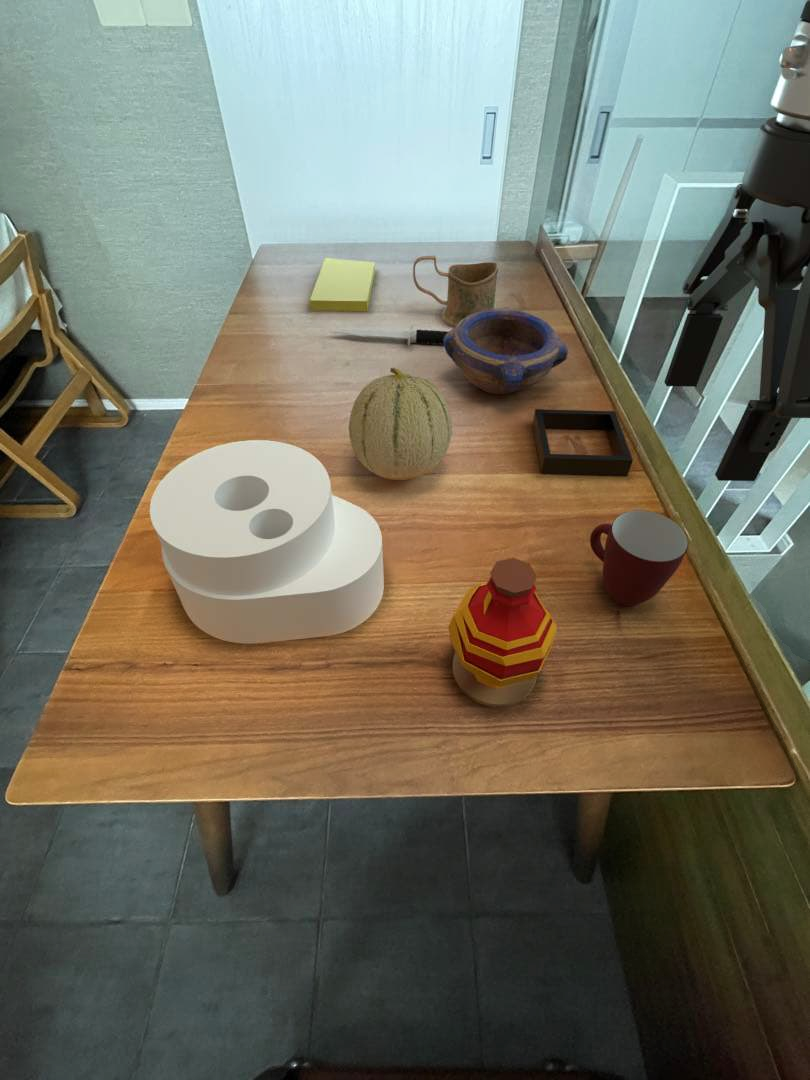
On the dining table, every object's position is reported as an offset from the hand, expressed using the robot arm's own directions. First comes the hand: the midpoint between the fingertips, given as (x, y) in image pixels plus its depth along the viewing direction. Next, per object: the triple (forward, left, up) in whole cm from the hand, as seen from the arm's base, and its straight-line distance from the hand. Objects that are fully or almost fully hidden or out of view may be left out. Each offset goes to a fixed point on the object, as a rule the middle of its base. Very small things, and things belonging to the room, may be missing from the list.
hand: (704, 426), depth 49 cm
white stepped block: (+35, +21, -26) cm, 49 cm away
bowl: (+40, -35, -27) cm, 59 cm away
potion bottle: (+7, +16, -26) cm, 31 cm away
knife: (+64, -34, -27) cm, 78 cm away
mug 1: (+62, -51, -27) cm, 84 cm away
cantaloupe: (+38, -5, -27) cm, 46 cm away
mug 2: (+3, -4, -27) cm, 27 cm away
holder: (+20, -26, -26) cm, 42 cm away
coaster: (+8, +15, -26) cm, 31 cm away
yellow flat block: (+90, -47, -26) cm, 104 cm away
